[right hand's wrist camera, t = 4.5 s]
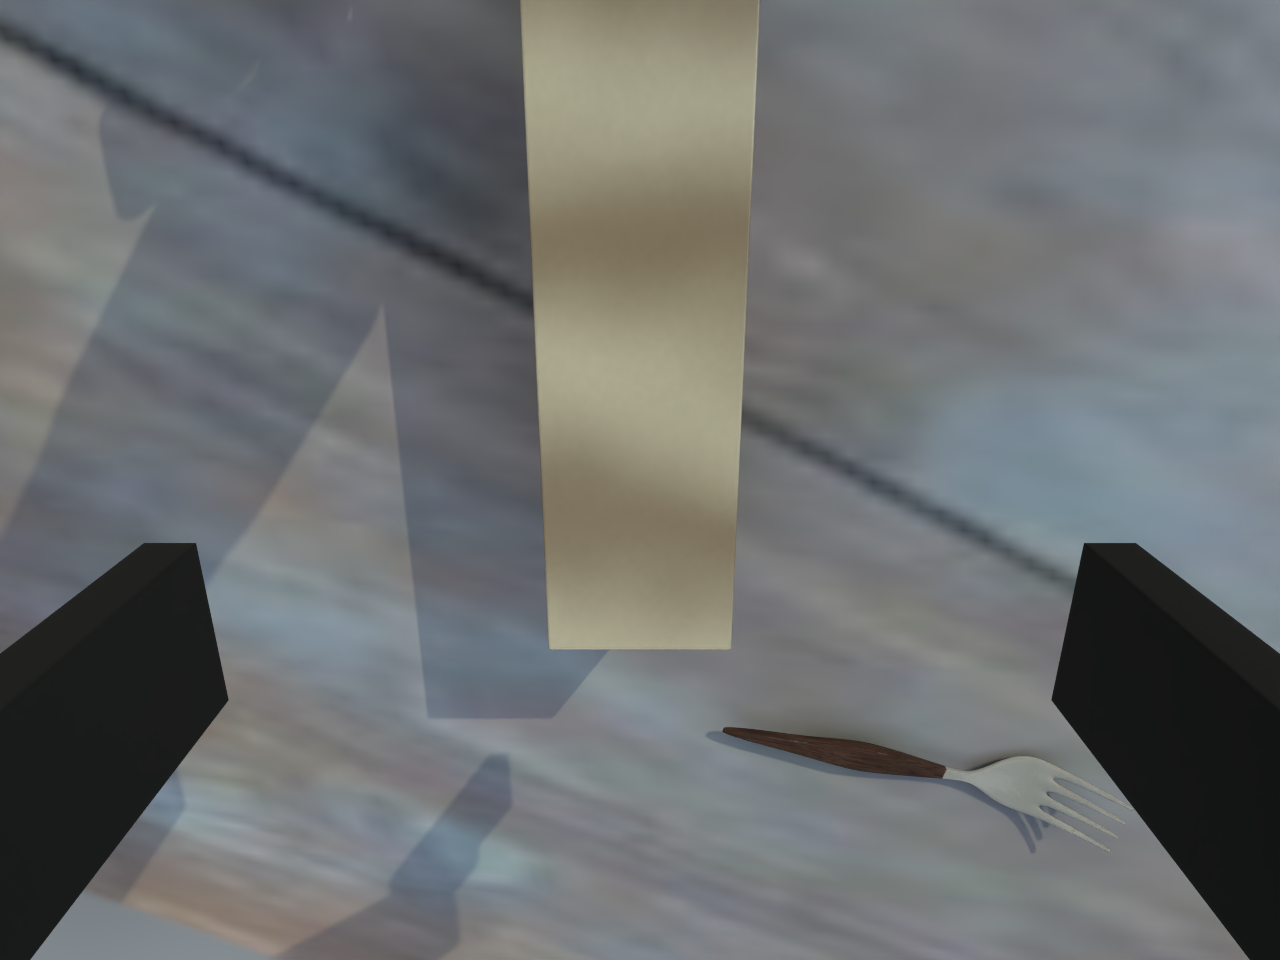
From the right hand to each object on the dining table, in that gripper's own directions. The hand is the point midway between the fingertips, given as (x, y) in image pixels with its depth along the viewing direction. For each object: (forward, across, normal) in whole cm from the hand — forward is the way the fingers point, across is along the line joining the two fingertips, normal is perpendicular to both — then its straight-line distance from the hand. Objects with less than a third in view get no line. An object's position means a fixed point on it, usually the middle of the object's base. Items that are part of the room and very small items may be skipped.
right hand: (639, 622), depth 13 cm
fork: (+17, -11, +16) cm, 26 cm away
